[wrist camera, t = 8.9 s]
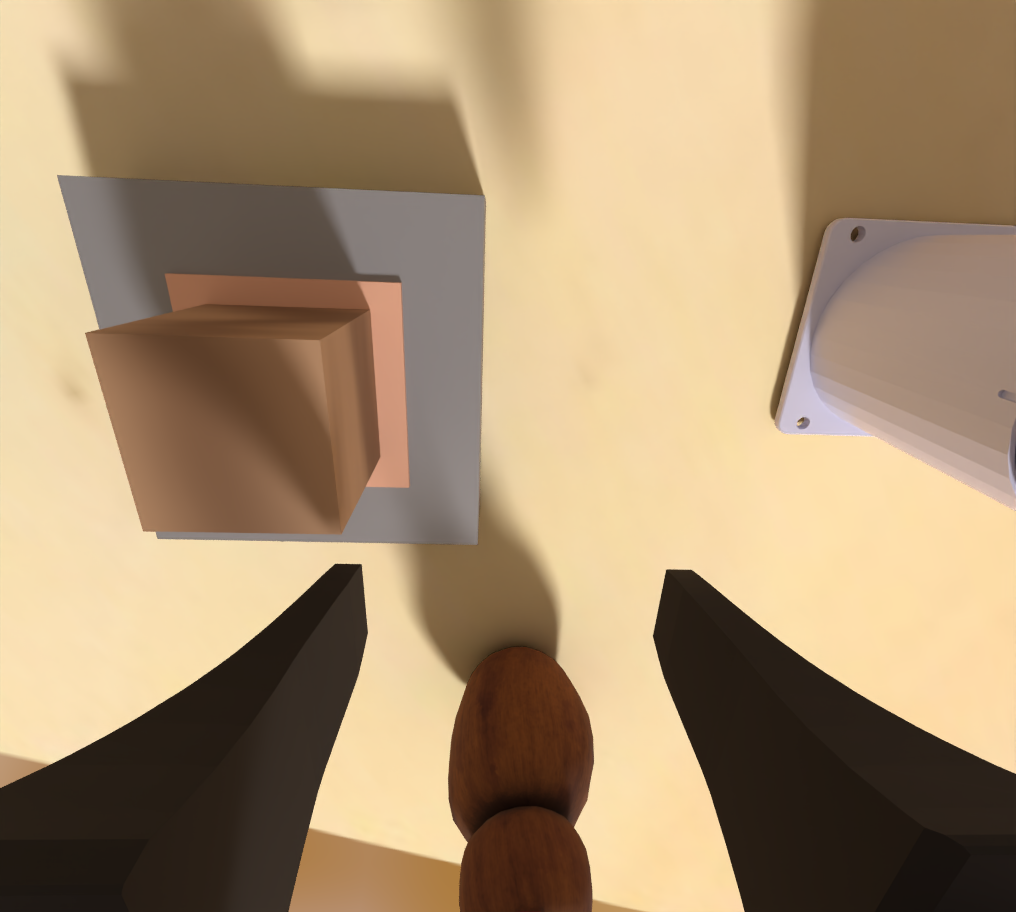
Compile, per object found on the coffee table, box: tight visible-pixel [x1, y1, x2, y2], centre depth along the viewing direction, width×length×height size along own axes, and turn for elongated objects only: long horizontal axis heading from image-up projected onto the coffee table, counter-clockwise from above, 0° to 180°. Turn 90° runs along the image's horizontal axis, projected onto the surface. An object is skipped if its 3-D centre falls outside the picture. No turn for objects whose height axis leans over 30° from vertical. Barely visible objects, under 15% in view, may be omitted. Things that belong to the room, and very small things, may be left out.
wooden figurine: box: [448, 647, 594, 912], centre depth 19 cm, size 7×6×15 cm
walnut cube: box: [85, 304, 381, 535], centre depth 14 cm, size 5×5×5 cm
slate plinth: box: [57, 175, 486, 545], centre depth 18 cm, size 12×12×3 cm
